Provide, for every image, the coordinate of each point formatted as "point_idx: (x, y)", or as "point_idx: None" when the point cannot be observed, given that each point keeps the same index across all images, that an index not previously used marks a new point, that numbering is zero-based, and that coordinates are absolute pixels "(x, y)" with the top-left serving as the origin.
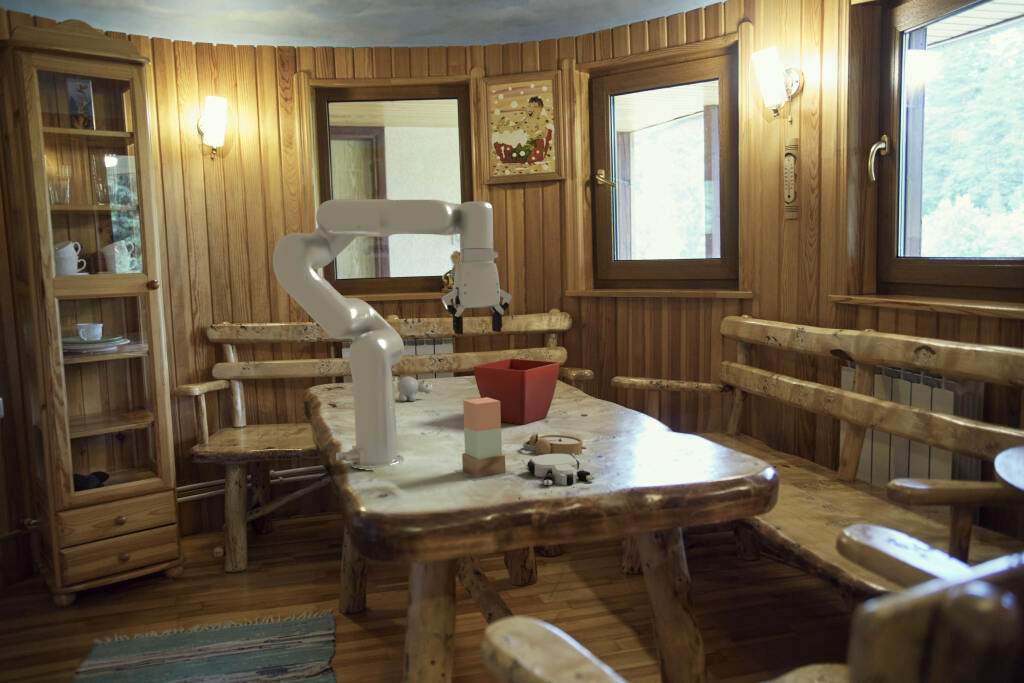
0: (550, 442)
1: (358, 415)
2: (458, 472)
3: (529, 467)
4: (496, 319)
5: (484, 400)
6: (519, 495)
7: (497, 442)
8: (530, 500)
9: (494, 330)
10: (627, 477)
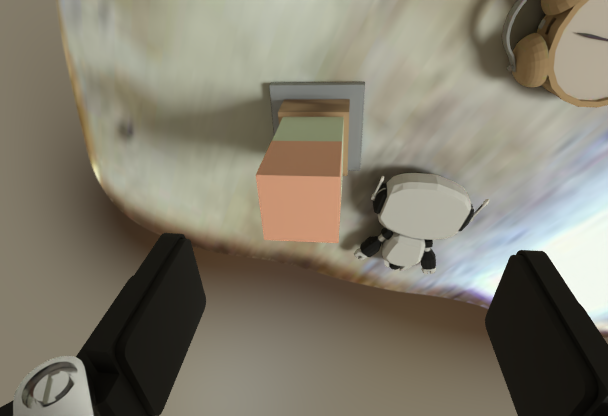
0: (574, 50)
1: None
2: (272, 104)
3: (373, 204)
4: (526, 398)
5: (307, 213)
6: None
7: None
8: (317, 260)
9: (501, 285)
10: (508, 257)
